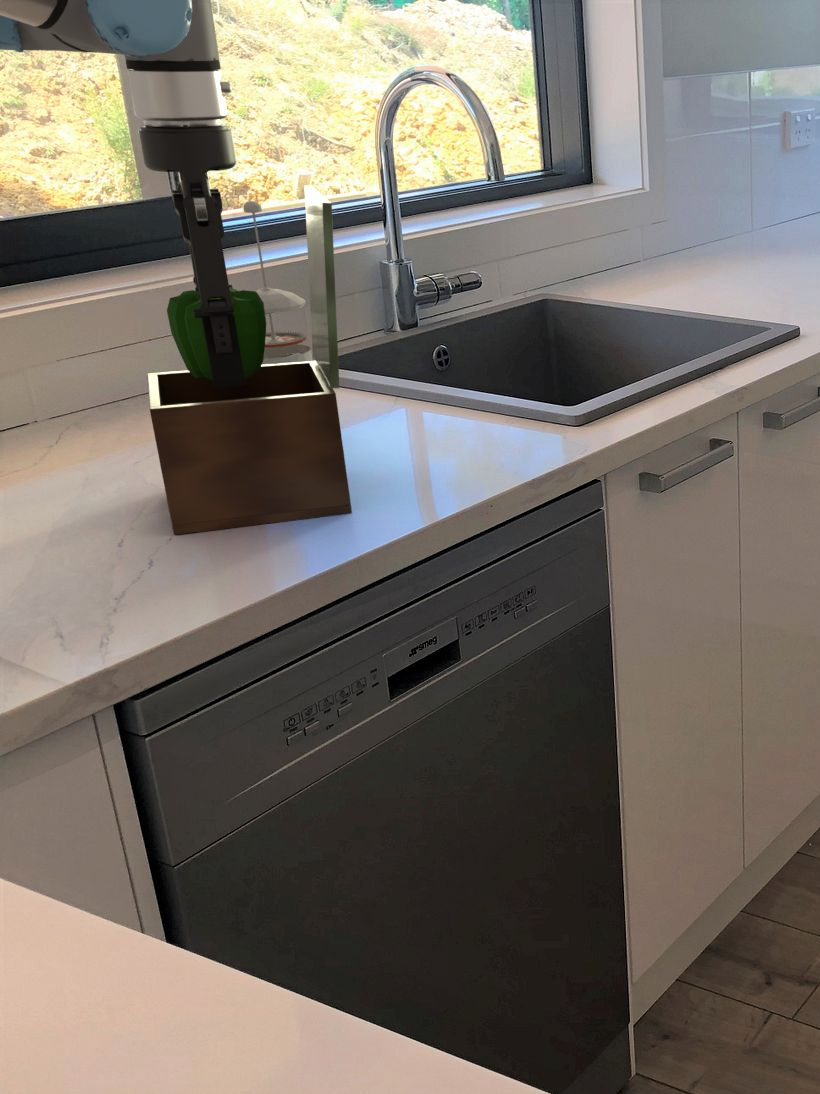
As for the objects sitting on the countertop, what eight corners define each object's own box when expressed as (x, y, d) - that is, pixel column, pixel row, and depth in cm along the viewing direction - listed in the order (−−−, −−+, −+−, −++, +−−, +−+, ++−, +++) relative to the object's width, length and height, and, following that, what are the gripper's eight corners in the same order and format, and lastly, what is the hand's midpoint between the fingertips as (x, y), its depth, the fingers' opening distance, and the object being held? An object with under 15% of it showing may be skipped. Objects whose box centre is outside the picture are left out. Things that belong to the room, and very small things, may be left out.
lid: (322, 202, 124) (331, 203, 124) (304, 185, 136) (313, 185, 136) (330, 388, 130) (339, 388, 130) (312, 355, 142) (321, 356, 142)
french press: (279, 434, 160) (241, 208, 149) (215, 420, 165) (174, 201, 155) (348, 416, 167) (316, 199, 157) (284, 402, 173) (250, 192, 163)
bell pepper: (200, 367, 136) (181, 263, 132) (285, 367, 136) (269, 263, 132) (164, 387, 129) (142, 277, 125) (253, 388, 129) (235, 278, 125)
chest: (173, 535, 129) (149, 409, 124) (169, 489, 141) (147, 373, 136) (352, 513, 135) (335, 393, 130) (333, 472, 147) (317, 360, 142)
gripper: (237, 130, 116) (279, 397, 125) (222, 114, 133) (260, 349, 143) (138, 132, 113) (188, 405, 122) (136, 115, 130) (179, 355, 140)
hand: (226, 375), depth 132 cm, fingers closed on bell pepper, 8 cm apart
